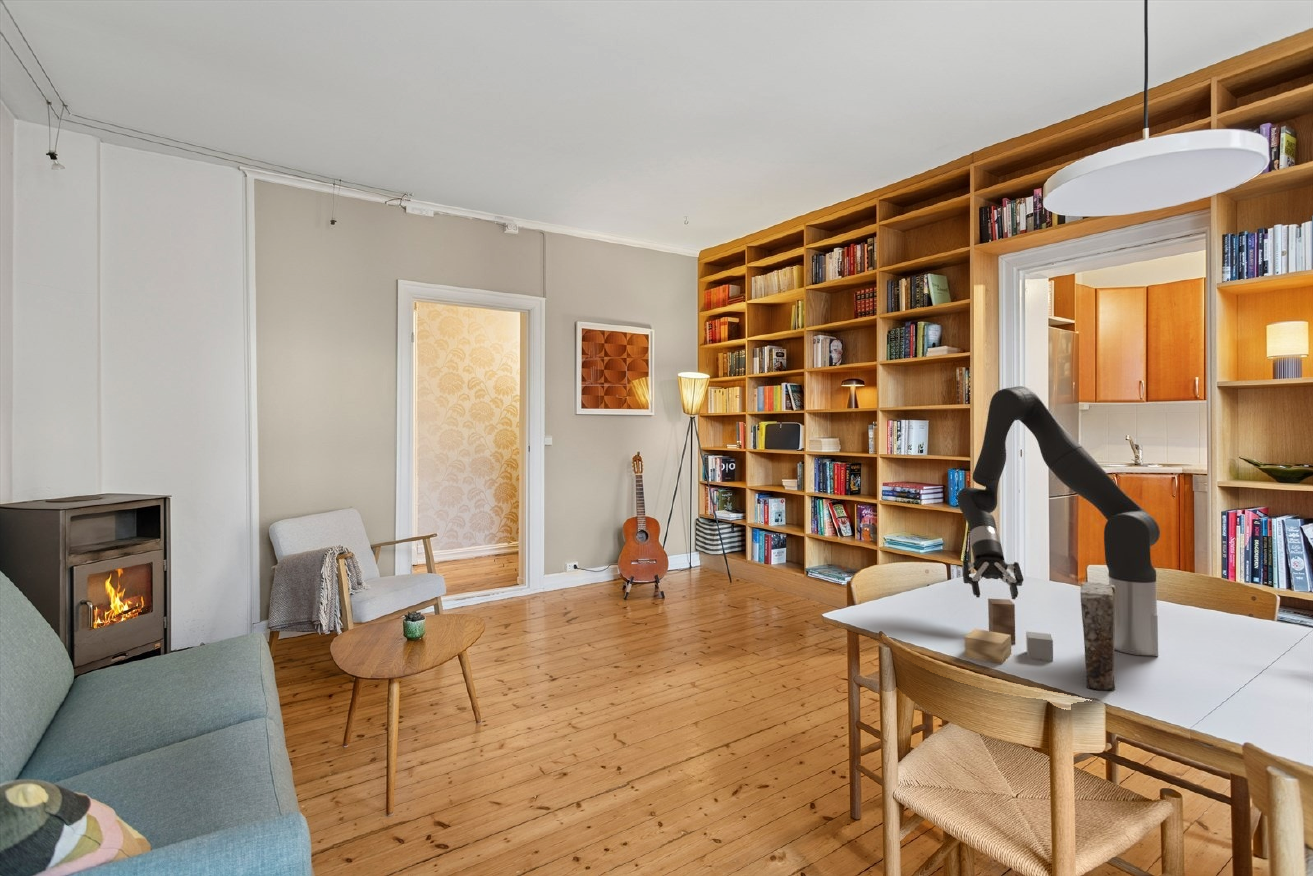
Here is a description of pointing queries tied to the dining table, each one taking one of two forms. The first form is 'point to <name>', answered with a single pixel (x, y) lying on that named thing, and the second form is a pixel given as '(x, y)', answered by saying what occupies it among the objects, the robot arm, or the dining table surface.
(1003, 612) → the walnut pillar
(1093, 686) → the stone block
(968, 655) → the oak block
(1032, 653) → the grey cube
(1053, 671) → the dining table surface
